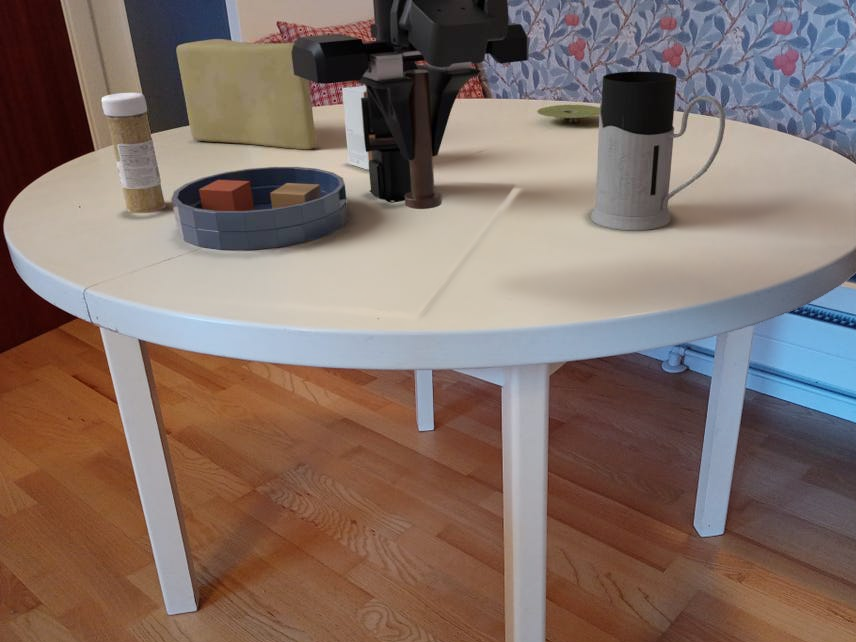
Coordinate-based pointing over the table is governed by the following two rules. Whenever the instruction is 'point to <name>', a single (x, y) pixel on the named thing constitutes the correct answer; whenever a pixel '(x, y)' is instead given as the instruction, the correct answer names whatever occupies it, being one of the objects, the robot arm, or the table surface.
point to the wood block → (294, 194)
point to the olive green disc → (569, 111)
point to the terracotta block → (227, 196)
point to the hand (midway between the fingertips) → (420, 157)
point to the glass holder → (639, 149)
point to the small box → (355, 126)
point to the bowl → (262, 211)
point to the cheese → (246, 94)
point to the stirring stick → (421, 145)
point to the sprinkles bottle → (134, 151)
